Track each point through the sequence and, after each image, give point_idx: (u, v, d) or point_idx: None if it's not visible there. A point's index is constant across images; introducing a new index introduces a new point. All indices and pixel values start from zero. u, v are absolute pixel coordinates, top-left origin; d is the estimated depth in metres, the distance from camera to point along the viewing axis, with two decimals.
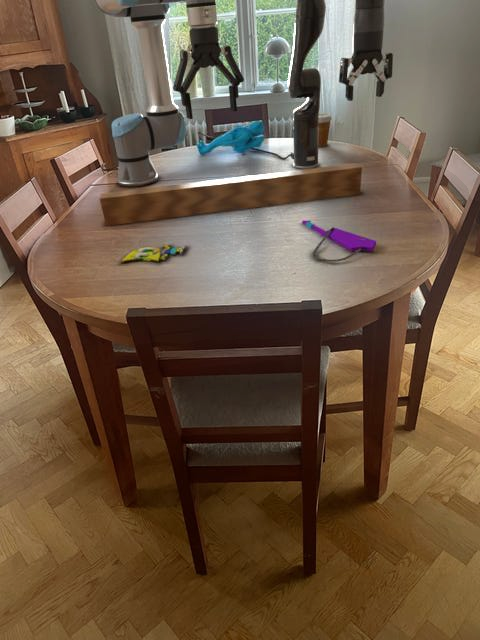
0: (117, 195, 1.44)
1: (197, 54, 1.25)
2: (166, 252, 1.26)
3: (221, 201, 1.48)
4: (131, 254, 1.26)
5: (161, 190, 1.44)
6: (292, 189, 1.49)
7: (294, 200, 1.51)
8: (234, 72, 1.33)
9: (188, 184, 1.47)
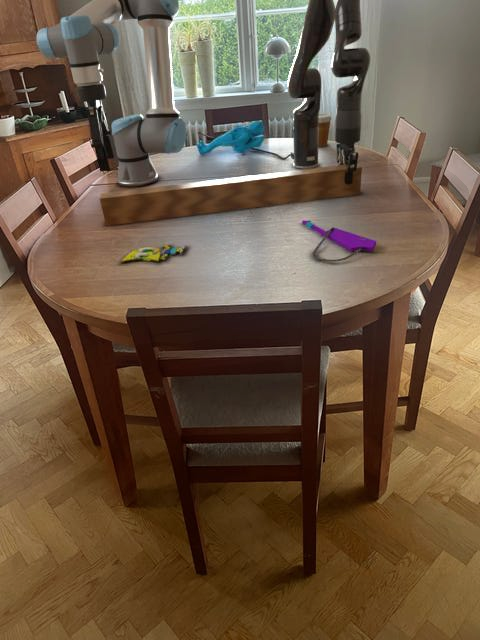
0: (117, 195, 1.44)
1: (97, 109, 1.29)
2: (166, 252, 1.26)
3: (221, 201, 1.48)
4: (131, 254, 1.26)
5: (161, 190, 1.44)
6: (292, 189, 1.49)
7: (294, 200, 1.51)
8: None
9: (188, 184, 1.47)
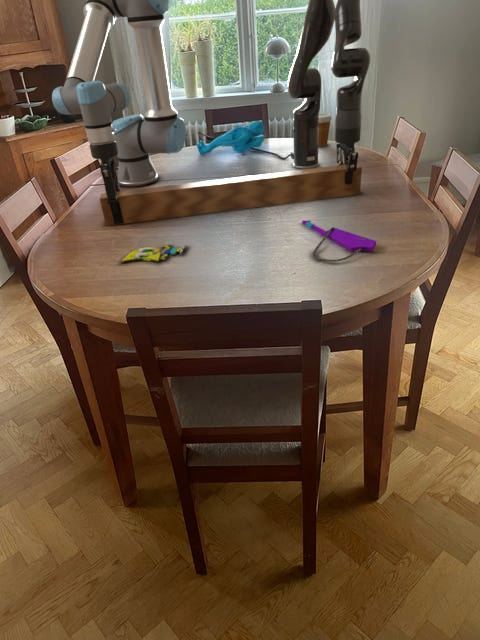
0: (117, 195, 1.44)
1: (110, 165, 1.37)
2: (166, 252, 1.26)
3: (221, 201, 1.48)
4: (131, 254, 1.26)
5: (161, 190, 1.44)
6: (292, 189, 1.49)
7: (294, 200, 1.51)
8: None
9: (188, 184, 1.47)
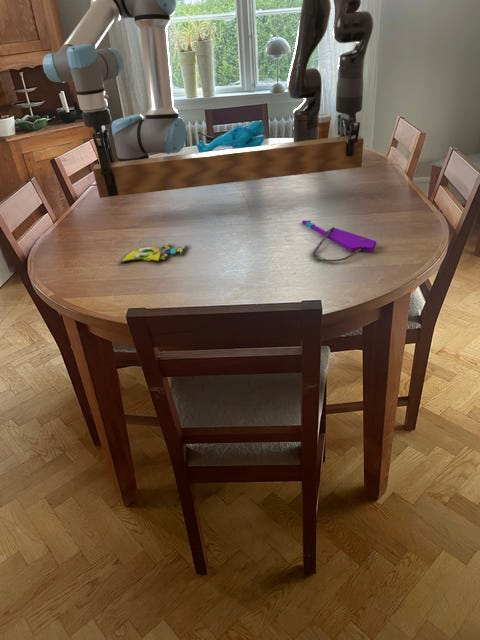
0: (111, 165, 1.39)
1: (103, 133, 1.33)
2: (166, 252, 1.26)
3: (218, 173, 1.44)
4: (131, 254, 1.26)
5: (156, 161, 1.40)
6: (291, 161, 1.45)
7: (293, 173, 1.47)
8: None
9: (184, 155, 1.43)
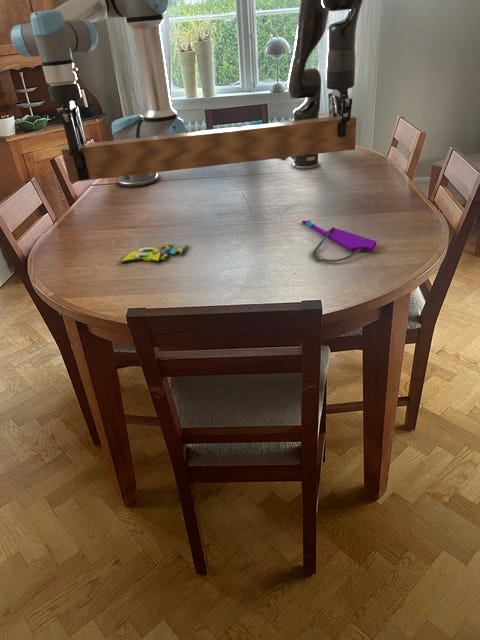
0: (81, 146, 1.28)
1: (71, 109, 1.22)
2: (166, 252, 1.26)
3: (199, 155, 1.32)
4: (131, 254, 1.26)
5: (131, 141, 1.29)
6: (278, 142, 1.33)
7: (281, 155, 1.35)
8: None
9: (162, 136, 1.31)
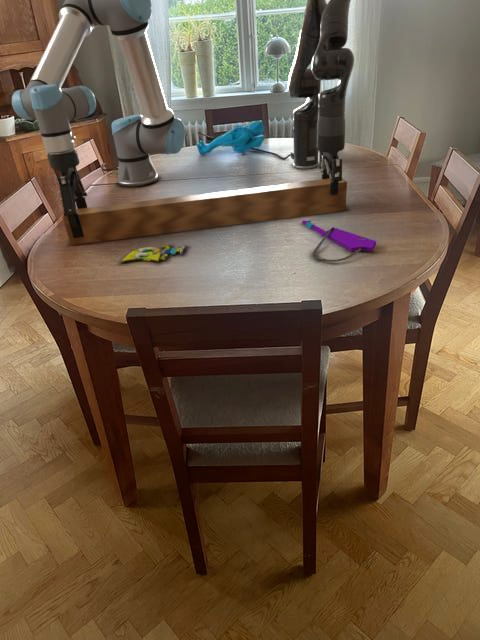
0: (81, 212, 1.33)
1: (70, 176, 1.25)
2: (166, 252, 1.26)
3: (195, 219, 1.37)
4: (131, 254, 1.26)
5: (130, 207, 1.33)
6: (272, 206, 1.38)
7: (274, 217, 1.40)
8: None
9: (159, 200, 1.36)
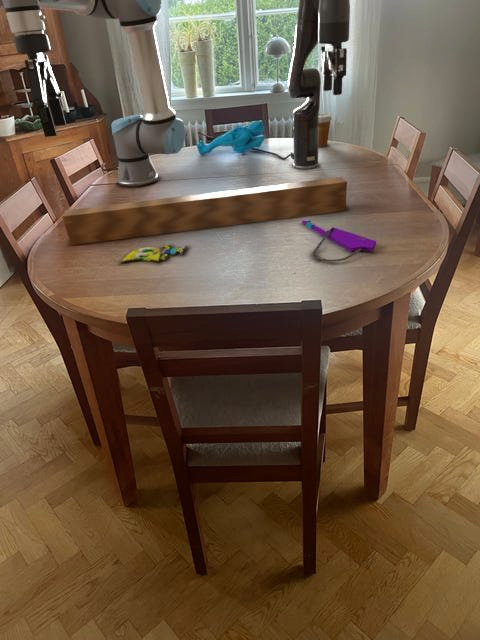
0: (81, 212, 1.33)
1: (39, 63, 1.11)
2: (166, 252, 1.26)
3: (195, 219, 1.37)
4: (131, 254, 1.26)
5: (130, 207, 1.33)
6: (272, 206, 1.38)
7: (274, 217, 1.40)
8: None
9: (159, 200, 1.36)
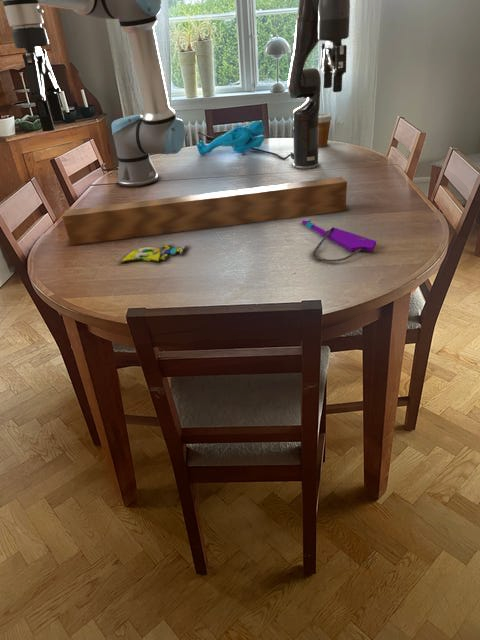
0: (81, 212, 1.33)
1: (37, 57, 1.10)
2: (166, 252, 1.26)
3: (195, 219, 1.37)
4: (131, 254, 1.26)
5: (130, 207, 1.33)
6: (272, 206, 1.38)
7: (274, 217, 1.40)
8: None
9: (159, 200, 1.36)
